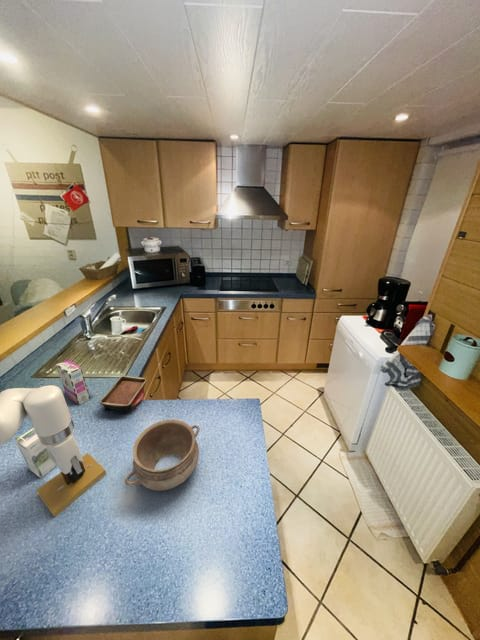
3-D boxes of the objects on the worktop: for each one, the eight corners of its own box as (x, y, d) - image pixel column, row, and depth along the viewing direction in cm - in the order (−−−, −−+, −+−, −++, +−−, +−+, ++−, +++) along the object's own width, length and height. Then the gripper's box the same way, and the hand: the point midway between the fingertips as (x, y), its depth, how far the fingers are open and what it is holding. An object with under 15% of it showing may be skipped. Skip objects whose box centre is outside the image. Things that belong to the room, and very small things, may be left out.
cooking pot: (149, 529, 64) (142, 500, 59) (115, 480, 75) (106, 452, 70) (219, 460, 81) (218, 433, 76) (182, 429, 92) (179, 403, 87)
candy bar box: (91, 399, 105) (82, 367, 98) (79, 407, 101) (68, 374, 95) (78, 389, 111) (68, 358, 104) (66, 396, 107) (54, 364, 100)
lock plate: (55, 519, 65) (52, 512, 64) (39, 496, 70) (35, 489, 69) (107, 476, 76) (105, 469, 75) (89, 459, 81) (87, 452, 80)
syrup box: (50, 456, 81) (35, 424, 75) (61, 464, 79) (47, 431, 73) (30, 472, 77) (13, 438, 71) (42, 480, 74) (25, 447, 68)
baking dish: (153, 396, 111) (150, 375, 108) (129, 422, 94) (124, 399, 91) (123, 394, 113) (120, 374, 110) (95, 419, 96) (90, 396, 94)
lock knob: (67, 485, 70) (62, 474, 68) (65, 482, 71) (60, 471, 69) (85, 471, 74) (81, 460, 72) (83, 468, 75) (79, 457, 73)
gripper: (26, 425, 66) (48, 470, 74) (54, 456, 58) (75, 504, 66) (58, 408, 72) (75, 452, 79) (87, 434, 64) (103, 480, 71)
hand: (75, 475), depth 72 cm, fingers closed
